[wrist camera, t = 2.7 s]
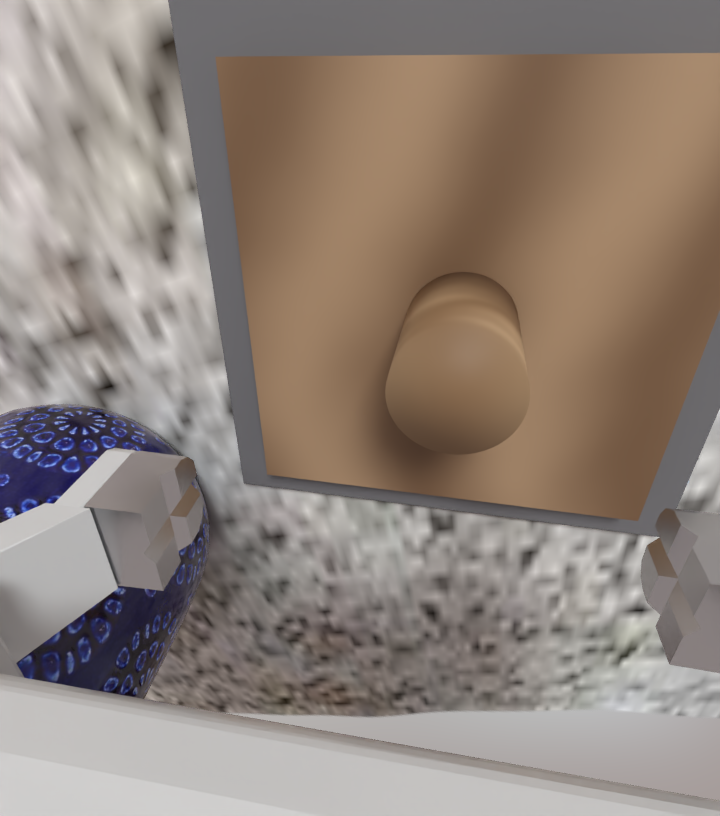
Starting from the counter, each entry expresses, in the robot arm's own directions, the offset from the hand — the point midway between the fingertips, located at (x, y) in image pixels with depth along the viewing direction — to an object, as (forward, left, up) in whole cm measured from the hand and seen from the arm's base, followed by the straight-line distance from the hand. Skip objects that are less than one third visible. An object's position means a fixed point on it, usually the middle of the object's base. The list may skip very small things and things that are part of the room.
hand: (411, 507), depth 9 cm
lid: (-1, 0, -8) cm, 8 cm away
